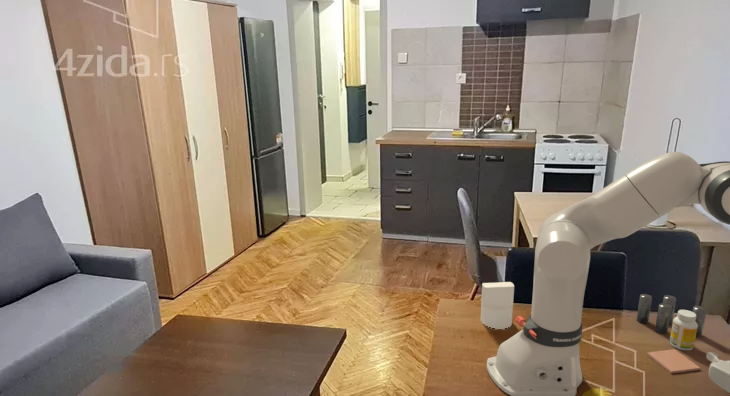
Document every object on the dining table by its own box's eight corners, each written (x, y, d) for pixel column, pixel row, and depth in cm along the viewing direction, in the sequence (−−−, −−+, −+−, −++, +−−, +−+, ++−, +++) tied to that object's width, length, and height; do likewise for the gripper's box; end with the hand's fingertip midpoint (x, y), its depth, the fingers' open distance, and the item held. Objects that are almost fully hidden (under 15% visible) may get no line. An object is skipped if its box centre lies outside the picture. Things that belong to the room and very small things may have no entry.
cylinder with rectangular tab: (505, 313, 141) (507, 277, 138) (516, 328, 132) (519, 291, 129) (476, 314, 141) (478, 278, 137) (485, 330, 132) (487, 292, 129)
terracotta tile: (670, 373, 111) (671, 371, 111) (646, 354, 119) (646, 352, 119) (699, 369, 112) (700, 367, 112) (673, 351, 120) (674, 349, 120)
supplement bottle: (666, 344, 123) (671, 312, 120) (673, 337, 126) (679, 306, 124) (689, 353, 119) (695, 320, 116) (696, 346, 122) (702, 313, 119)
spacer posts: (665, 341, 124) (670, 314, 122) (634, 318, 136) (637, 294, 134) (704, 336, 126) (709, 310, 124) (670, 315, 138) (674, 290, 135)
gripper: (831, 371, 97) (766, 336, 110) (747, 383, 94) (691, 345, 107) (824, 396, 98) (761, 359, 111) (742, 409, 95) (687, 368, 109)
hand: (726, 352), depth 109 cm, fingers open, 8 cm apart
